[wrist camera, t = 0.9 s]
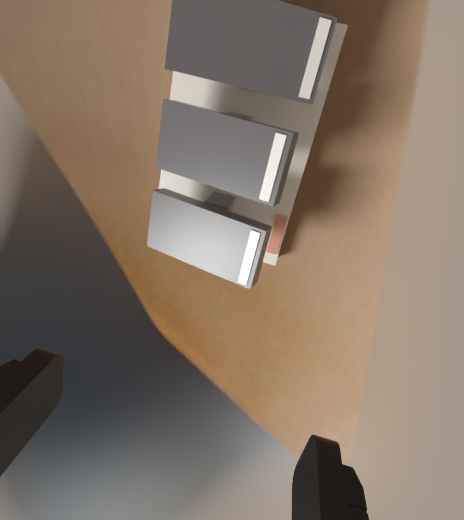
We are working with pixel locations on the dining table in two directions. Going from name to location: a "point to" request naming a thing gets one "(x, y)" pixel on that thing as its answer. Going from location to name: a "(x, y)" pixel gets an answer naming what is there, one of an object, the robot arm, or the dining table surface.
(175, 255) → the far rocker
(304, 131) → the switch panel
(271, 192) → the middle rocker
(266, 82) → the near rocker
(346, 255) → the dining table surface
